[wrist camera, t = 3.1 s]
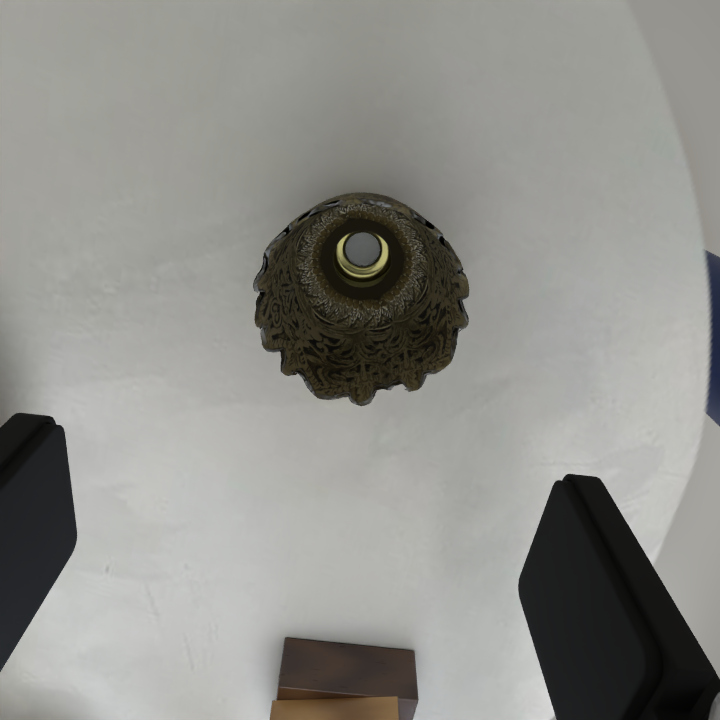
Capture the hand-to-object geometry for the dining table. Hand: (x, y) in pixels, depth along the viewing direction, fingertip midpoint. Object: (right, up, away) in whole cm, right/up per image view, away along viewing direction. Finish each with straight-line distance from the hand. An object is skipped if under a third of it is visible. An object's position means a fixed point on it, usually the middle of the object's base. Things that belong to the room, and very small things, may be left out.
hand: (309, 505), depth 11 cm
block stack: (0, -21, +30) cm, 36 cm away
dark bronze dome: (+1, +8, +16) cm, 18 cm away
